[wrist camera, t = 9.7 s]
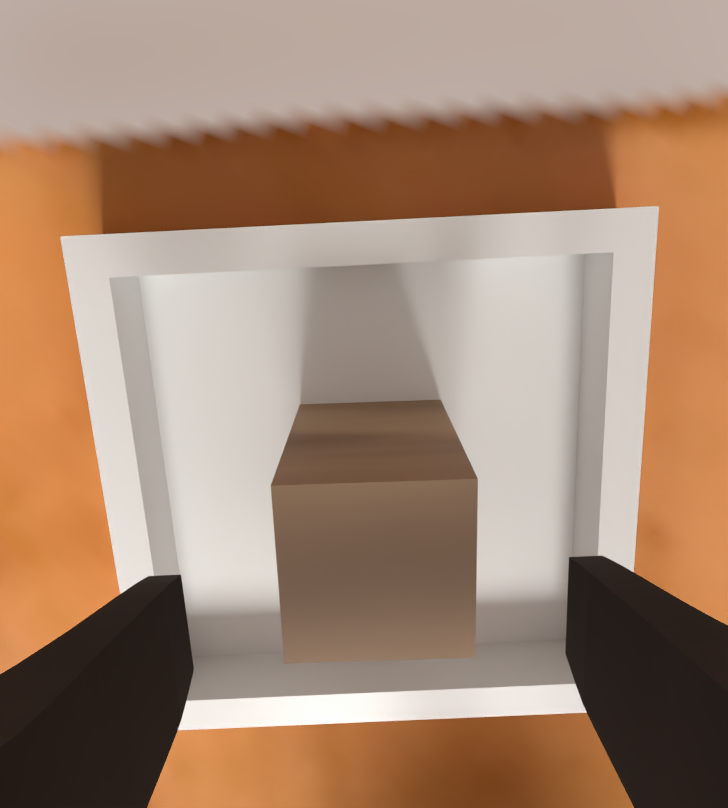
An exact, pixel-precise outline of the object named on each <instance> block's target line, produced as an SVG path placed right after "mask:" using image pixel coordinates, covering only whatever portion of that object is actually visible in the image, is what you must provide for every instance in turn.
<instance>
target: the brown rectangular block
mask: <svg viewBox="0 0 728 808" xmlns="http://www.w3.org/2000/svg"><path fill="white" fill-rule="evenodd" d="M271 497H272V510H273V523H274V535H275V548H276V561H277V574H278V587H279V600H280V613H281V626H282V639H283V652H284V663H315V662H347V661H379V660H412V659H444V658H475V649H476V578H477V507H478V478H477V476H476V474H475V472H474V470H473V467H472V465H471V463H470V461H469V459H468V457H467V455H466V453H465V450H464V448H463V446H462V444H461V442H460V440H459V438H458V435H457V433H456V431H455V429H454V427H453V425H452V423H451V421H450V418H449V416H448V414H447V412H446V410H445V408H444V406H443V404H442V401H441V400H416V401H386V402H356V403H326V404H300V405H299V408H298V411H297V414H296V417H295V419H294V422H293V425H292V428H291V430H290V433H289V436H288V439H287V442H286V444H285V447H284V450H283V453H282V455H281V458H280V461H279V464H278V467H277V469H276V472H275V475H274V478H273V481H272V483H271Z"/></svg>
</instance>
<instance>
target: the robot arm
mask: <svg viewBox="0 0 728 808" xmlns="http://www.w3.org/2000/svg"><path fill="white" fill-rule="evenodd" d="M565 654H566V657H567V660H568V663H569V666H570V669H571V672H572V675H573V678H574V681H575V684H576V687H577V689H578V692H579V695H580V698H581V700H582V703H583V705H584V707H585V710H586V712H587V714H588V716H589V718H590V720H591V722H592V724H593V726H594V728H595V730H596V732H597V734H598V736H599V738H600V740H601V742H602V744H603V746H604V748H605V750H606V752H607V754H608V756H609V758H610V760H611V762H612V764H613V766H614V768H615V770H616V772H617V774H618V776H619V778H620V780H621V782H622V784H623V786H624V788H625V790H626V792H627V794H628V796H629V798H630V800H631V802H632V804H633V806H634V808H728V626H727V625H725V624H724V623H722V622H720V621H718V620H716V619H714V618H712V617H710V616H708V615H706V614H705V613H703V612H701V611H699V610H697V609H696V608H694V607H692V606H690V605H688V604H687V603H685V602H683V601H681V600H680V599H678V598H676V597H674V596H673V595H671V594H669V593H668V592H666V591H664V590H662V589H661V588H659V587H657V586H656V585H654V584H652V583H651V582H649V581H647V580H646V579H644V578H642V577H641V576H639V575H637V574H635V573H634V572H632V571H630V570H629V569H627V568H625V567H623V566H622V565H620V564H618V563H616V562H614V561H612V560H611V559H608V558H606V557H604V556H581V557H569V569H568V595H567V622H566V649H565ZM193 671H194V666H193V659H192V651H191V644H190V637H189V629H188V622H187V615H186V607H185V600H184V593H183V586H182V578H181V575H160V576H148V577H146V578H144V579H142V580H141V581H139V582H138V583H136V584H134V585H133V586H132V587H130V588H129V589H127V590H126V591H124V592H123V593H121V594H120V595H119V596H117V597H116V598H114V599H113V600H111V601H110V602H109V603H107V604H106V605H105V606H103V607H102V608H100V609H99V610H97V611H96V612H95V613H93V614H92V615H90V616H89V617H88V618H86V619H85V620H83V621H82V622H80V623H79V624H78V625H76V626H75V627H73V628H72V629H71V630H69V631H68V632H66V633H65V634H63V635H62V636H60V637H58V638H57V639H55V640H54V641H52V642H51V643H49V644H48V645H46V646H45V647H43V648H42V649H40V650H38V651H37V652H35V653H34V654H32V655H31V656H29V657H28V658H26V659H25V660H23V661H22V662H20V663H18V664H17V665H15V666H14V667H12V668H10V669H9V670H7V671H5V672H4V673H2V674H0V808H147V806H148V803H149V801H150V798H151V796H152V793H153V791H154V788H155V786H156V783H157V781H158V778H159V776H160V773H161V771H162V769H163V766H164V764H165V761H166V758H167V756H168V753H169V751H170V748H171V746H172V743H173V741H174V738H175V735H176V733H177V730H178V728H179V725H180V722H181V719H182V716H183V712H184V708H185V704H186V701H187V697H188V692H189V688H190V684H191V680H192V676H193Z"/></svg>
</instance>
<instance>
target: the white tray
mask: <svg viewBox="0 0 728 808" xmlns="http://www.w3.org/2000/svg"><path fill="white" fill-rule="evenodd" d="M658 214H659V206H651V207H631V208H611V209H592V210H572V211H552V212H533V213H513V214H493V215H473V216H454V217H434V218H414V219H394V220H375V221H355V222H335V223H316V224H296V225H276V226H256V227H237V228H217V229H197V230H177V231H158V232H138V233H118V234H99V235H79V236H60V238H61V244H62V250H63V256H64V262H65V268H66V274H67V280H68V286H69V292H70V298H71V304H72V310H73V316H74V322H75V328H76V334H77V339H78V345H79V351H80V357H81V363H82V369H83V375H84V381H85V387H86V393H87V399H88V405H89V411H90V417H91V423H92V429H93V435H94V441H95V447H96V453H97V459H98V465H99V471H100V477H101V483H102V488H103V494H104V500H105V506H106V512H107V518H108V524H109V530H110V536H111V542H112V548H113V554H114V560H115V566H116V572H117V578H118V584H119V590H120V594H121V593H123V592H124V591H126V590H127V589H129V588H130V587H132V586H133V585H134V584H136V583H138V582H139V581H141V580H142V579H144V578H146V577H148V576H160V575H181V578H182V586H183V593H184V600H185V607H186V615H187V622H188V629H189V637H190V644H191V651H192V659H193V666H194V671H193V676H192V680H191V684H190V688H189V692H188V697H187V701H186V704H185V708H184V712H183V716H182V719H181V722H180V725H179V728H178V730H195V729H218V728H241V727H264V726H287V725H311V724H334V723H357V722H380V721H403V720H427V719H450V718H473V717H496V716H519V715H543V714H566V713H587V712H586V710H585V707H584V705H583V703H582V700H581V698H580V695H579V692H578V689H577V687H576V684H575V681H574V678H573V675H572V672H571V669H570V666H569V663H568V660H567V657H566V654H565V649H566V622H567V595H568V569H569V557H581V556H604V557H606V558H608V559H611V560H612V561H614V562H616V563H618V564H620V565H622V566H623V567H625V568H627V569H629V570H630V571H632V572H634V561H635V547H636V532H637V518H638V503H639V489H640V475H641V460H642V446H643V431H644V417H645V402H646V388H647V373H648V359H649V344H650V330H651V316H652V301H653V287H654V272H655V258H656V243H657V229H658ZM416 400H441V401H442V404H443V406H444V408H445V410H446V412H447V414H448V416H449V418H450V421H451V423H452V425H453V427H454V429H455V431H456V433H457V435H458V438H459V440H460V442H461V444H462V446H463V448H464V450H465V453H466V455H467V457H468V459H469V461H470V463H471V465H472V467H473V470H474V472H475V474H476V476H477V478H478V507H477V578H476V649H475V658H444V659H412V660H379V661H347V662H315V663H284V652H283V639H282V626H281V613H280V600H279V587H278V574H277V561H276V548H275V535H274V523H273V510H272V497H271V483H272V481H273V478H274V475H275V472H276V469H277V467H278V464H279V461H280V458H281V455H282V453H283V450H284V447H285V444H286V442H287V439H288V436H289V433H290V430H291V428H292V425H293V422H294V419H295V417H296V414H297V411H298V408H299V405H300V404H326V403H356V402H386V401H416Z"/></svg>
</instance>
